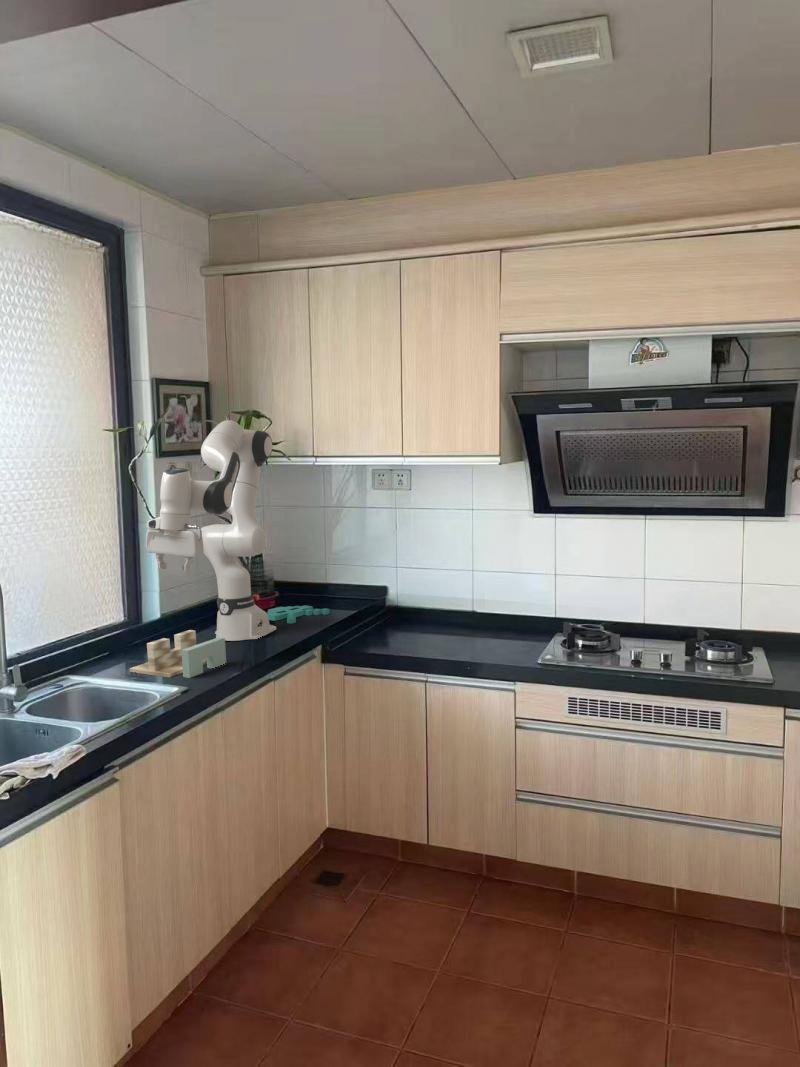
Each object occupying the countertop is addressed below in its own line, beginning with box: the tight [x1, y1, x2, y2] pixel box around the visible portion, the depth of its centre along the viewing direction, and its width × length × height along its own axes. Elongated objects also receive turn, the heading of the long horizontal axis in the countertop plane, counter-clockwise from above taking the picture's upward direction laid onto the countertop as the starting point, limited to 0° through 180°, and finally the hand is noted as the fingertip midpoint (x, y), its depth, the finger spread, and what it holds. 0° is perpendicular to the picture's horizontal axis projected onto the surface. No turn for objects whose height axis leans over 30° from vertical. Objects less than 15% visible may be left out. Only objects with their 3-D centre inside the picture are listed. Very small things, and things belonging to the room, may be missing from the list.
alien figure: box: [266, 605, 330, 624], centre depth 322 cm, size 20×2×20 cm
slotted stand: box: [129, 629, 207, 678], centre depth 255 cm, size 20×16×9 cm
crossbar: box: [181, 637, 227, 679], centre depth 249 cm, size 16×2×8 cm, turn 151°
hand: (173, 570), depth 248 cm, fingers open, 8 cm apart
